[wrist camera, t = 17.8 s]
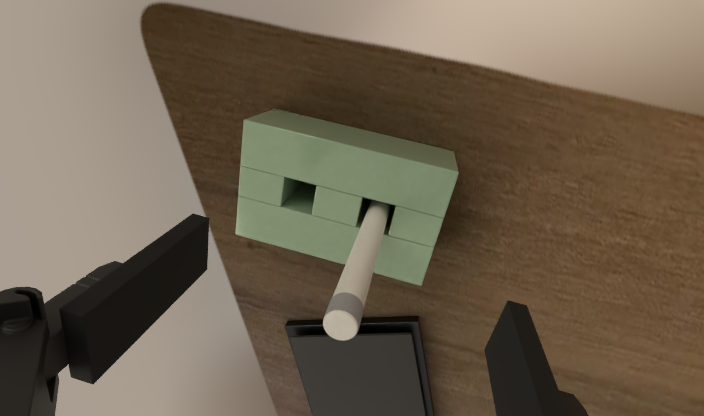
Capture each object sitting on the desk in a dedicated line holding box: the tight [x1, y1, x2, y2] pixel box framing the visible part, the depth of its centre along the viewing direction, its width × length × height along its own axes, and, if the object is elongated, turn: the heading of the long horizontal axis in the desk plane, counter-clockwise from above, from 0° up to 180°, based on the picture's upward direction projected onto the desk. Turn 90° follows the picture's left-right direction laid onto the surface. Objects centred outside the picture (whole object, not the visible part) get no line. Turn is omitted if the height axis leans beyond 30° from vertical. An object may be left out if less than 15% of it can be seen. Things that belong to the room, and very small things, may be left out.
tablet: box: [285, 316, 435, 416], centre depth 36 cm, size 18×12×1 cm, turn 11°
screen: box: [290, 333, 426, 416], centre depth 35 cm, size 17×11×1 cm, turn 11°
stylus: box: [323, 200, 391, 341], centre depth 21 cm, size 1×1×15 cm
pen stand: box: [236, 109, 459, 286], centre depth 26 cm, size 8×13×5 cm, turn 79°
